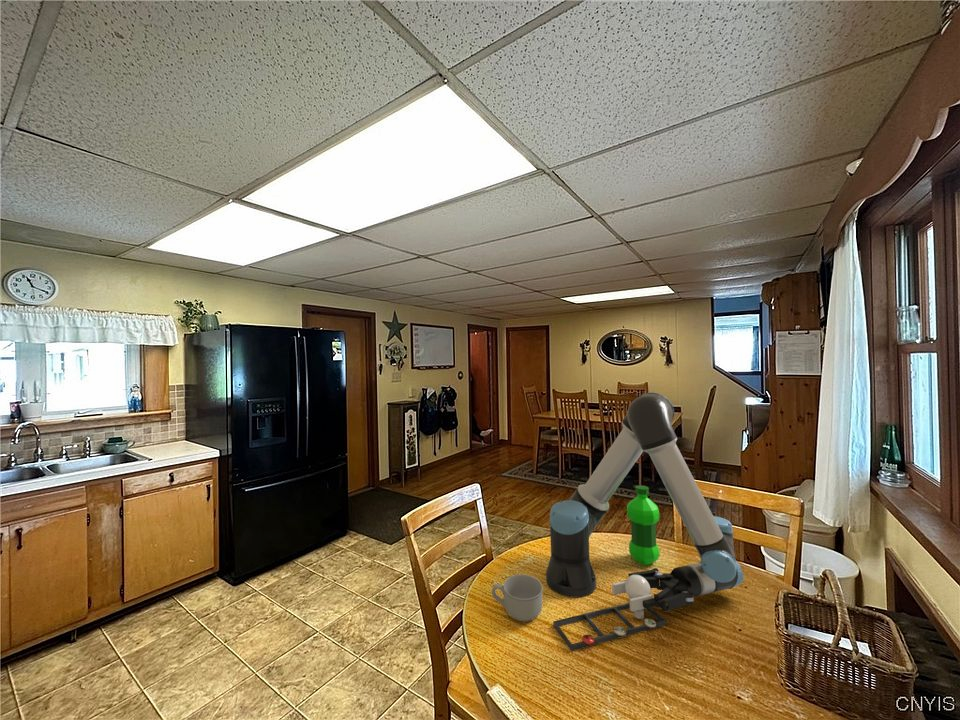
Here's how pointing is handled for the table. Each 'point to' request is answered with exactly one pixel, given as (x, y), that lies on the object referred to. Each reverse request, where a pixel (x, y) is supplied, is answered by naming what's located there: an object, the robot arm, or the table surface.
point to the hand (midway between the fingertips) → (621, 597)
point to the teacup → (520, 596)
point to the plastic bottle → (643, 527)
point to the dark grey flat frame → (619, 631)
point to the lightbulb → (637, 591)
